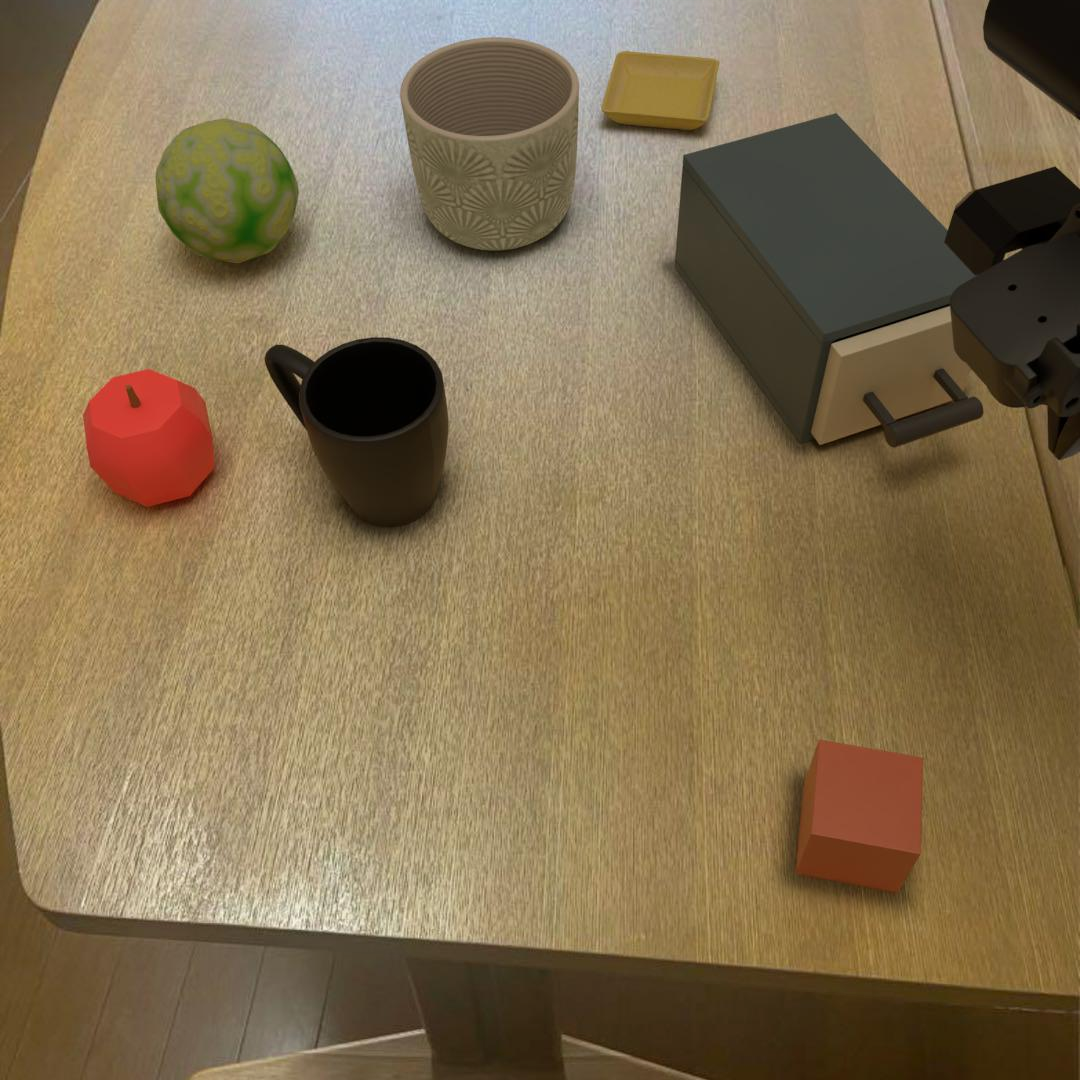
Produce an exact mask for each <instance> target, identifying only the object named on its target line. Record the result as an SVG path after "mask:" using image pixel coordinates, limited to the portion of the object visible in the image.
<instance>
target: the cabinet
mask: <svg viewBox="0 0 1080 1080" xmlns="http://www.w3.org/2000/svg"><path fill="white" fill-rule="evenodd" d="M680 179H681V180H680V192H679V193H680V194H679V205H678V218H677V230H676V241H675V242H676V243H675V254H674V255H675V256H674V257H675V258H674V269H675V271H676V272H677V273H678V274H679V276H680V277H681V279H682V280H683V281H684V283H685V285H686V286H687V287H688V289H689V290H690V291H691V292H692V295H694V297H695V298H696V300H697V301H698V303H699V304H700V306H701V307H702V308H703V310H704V311H705V313H706V314H707V315H708V317H709V318H710V319H711V321H712V323H713V324H714V325H715V327H716V328H717V330H718V331H719V332H720V334H721V335H722V336H723V338H724V340H725V341H726V342H727V344H728V345H729V347H730V348H731V349H732V351H733V352H734V354H735V355H736V356H737V358H738V359H739V361H740V362H741V364H742V365H743V367H745V369H746V370H747V372H748V373H749V375H750V376H751V378H752V379H753V380H754V382H755V383H756V385H757V386H758V387H759V389H760V390H761V392H762V393H763V394H764V396H765V397H766V399H767V400H768V401H769V403H770V404H771V406H772V407H773V409H774V410H775V411H776V413H777V414H778V415H779V417H780V418H781V420H782V421H783V423H784V424H785V425H786V427H787V428H788V430H789V431H790V432H791V434H792V435H793V436H794V438H795V440H796V441H797V442H798V444H799V445H803V444H804V443H807V442H811V441H814V440H816V439H815V438H814V436H813V435H812V434H811V430H812V425H813V421H814V416H815V412H816V408H817V403H818V399H819V395H820V390H821V386H822V382H823V377H824V373H825V369H826V364H827V360H828V356H829V351H830V347H831V344H832V343H833V341H834V340H837V339H840V338H843V337H846V336H849V335H853V334H856V333H859V332H862V331H865V330H868V329H871V328H875V327H878V326H881V325H884V324H887V323H890V322H893V321H897V320H900V319H903V318H906V317H909V316H912V315H916V314H919V313H922V312H925V311H928V310H931V309H934V308H938V307H941V306H944V305H947V304H950V297H951V295H952V293H953V292H954V290H955V289H956V288H958V287H959V286H960V285H962V284H963V283H965V282H967V281H968V280H970V279H972V278H974V277H975V276H977V275H974V274H973V273H972V272H971V271H970V270H969V269H968V268H967V266H966V265H965V264H964V263H963V262H962V261H961V260H960V259H959V258H958V257H957V256H956V255H955V254H954V253H953V251H952V250H951V249H950V248H949V247H948V246H947V245H946V244H945V243H944V241H945V238H946V234H947V231H948V228H946V227H945V225H943V223H941V222H940V220H939V219H938V218H937V217H936V216H935V215H934V214H933V213H932V212H931V211H930V210H929V209H928V208H927V207H926V205H924V203H922V202H921V200H920V199H919V198H918V197H917V196H916V195H915V194H914V193H913V192H912V190H910V189H909V188H908V186H906V184H904V182H903V181H901V179H900V178H899V177H898V176H897V175H896V174H895V173H894V172H893V170H891V169H890V168H889V167H888V165H886V163H884V161H883V160H882V159H881V158H880V157H879V156H878V155H877V154H876V153H875V152H874V151H873V150H872V149H871V147H870V146H868V145H867V144H866V142H865V141H864V140H863V139H862V138H861V137H860V136H859V135H858V134H857V133H856V132H855V131H854V130H853V129H852V127H850V125H848V124H847V122H845V120H844V119H843V118H842V117H841V115H839V114H838V113H837V112H835V113H832V114H828V115H827V114H826V115H824V116H820V117H817V118H813V119H809V120H806V121H802V122H798V123H795V124H791V125H787V126H783V127H781V128H775V129H772V130H769V131H765V132H762V133H758V134H755V135H754V134H753V135H751V136H747V137H745V138H740V139H737V140H733V141H730V142H726V143H722V144H718V145H714V146H711V147H708V148H704V149H699V150H696V151H693V152H689V153H686V154H683V156H682V168H681V178H680Z"/></svg>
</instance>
